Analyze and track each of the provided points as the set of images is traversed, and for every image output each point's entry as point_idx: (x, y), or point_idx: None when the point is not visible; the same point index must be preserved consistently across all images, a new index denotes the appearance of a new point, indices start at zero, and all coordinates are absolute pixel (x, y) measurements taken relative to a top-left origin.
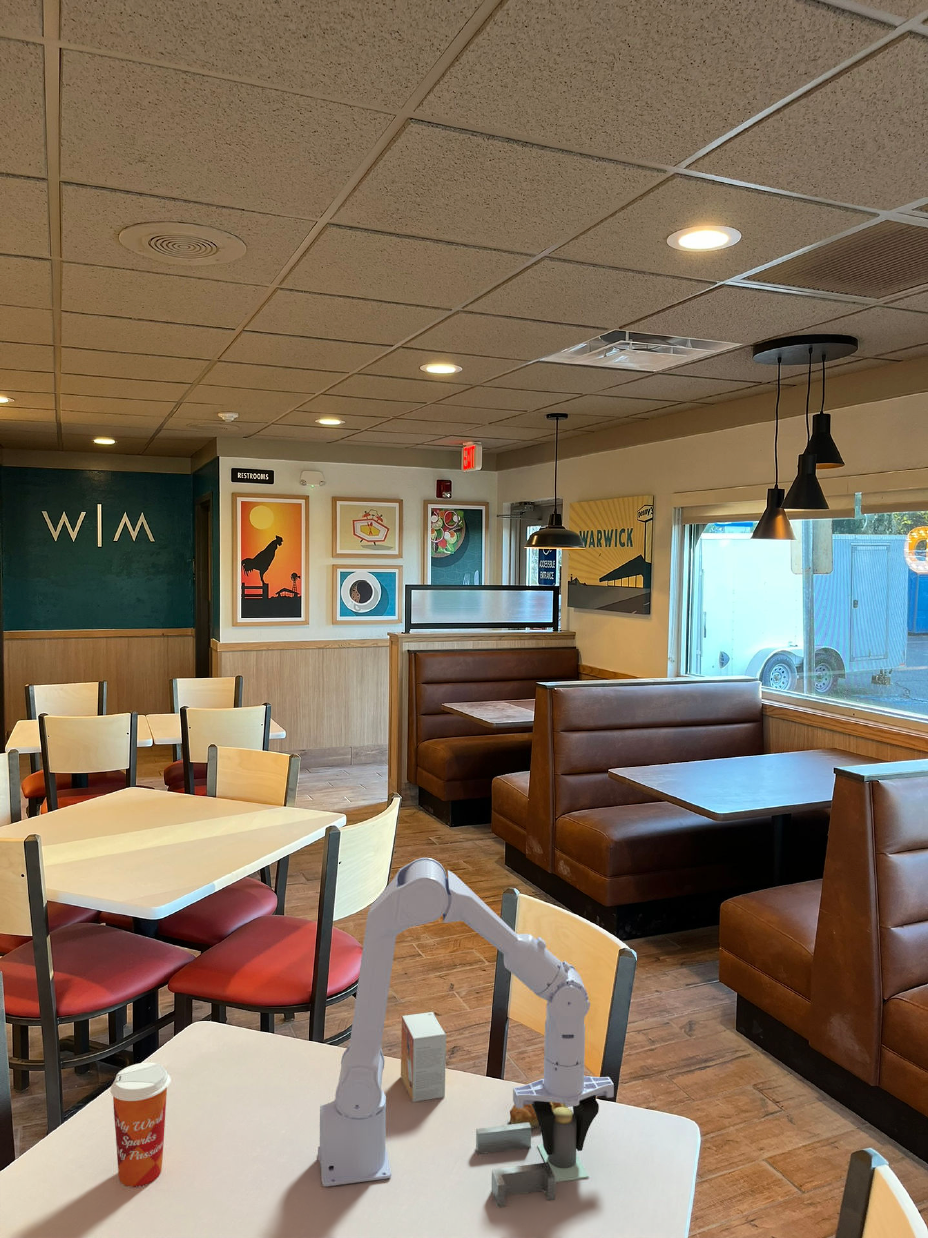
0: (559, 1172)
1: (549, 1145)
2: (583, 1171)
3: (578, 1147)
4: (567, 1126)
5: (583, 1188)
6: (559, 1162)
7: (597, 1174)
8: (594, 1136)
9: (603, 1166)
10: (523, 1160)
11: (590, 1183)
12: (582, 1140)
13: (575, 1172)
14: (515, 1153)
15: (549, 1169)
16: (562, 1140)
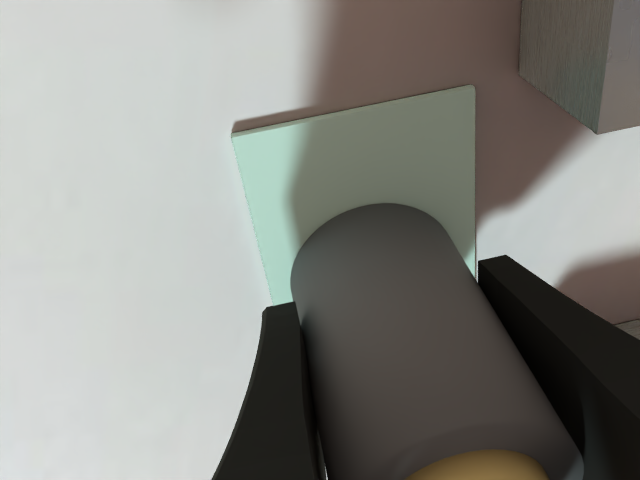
0: (420, 168)
1: (540, 292)
2: (260, 182)
3: (297, 316)
4: (461, 429)
5: (284, 26)
6: (420, 225)
7: (163, 170)
8: (154, 445)
9: (116, 242)
10: (578, 263)
11: (224, 80)
12: (275, 355)
13: (315, 173)
14: (596, 307)
15: (626, 42)
16: (458, 326)
